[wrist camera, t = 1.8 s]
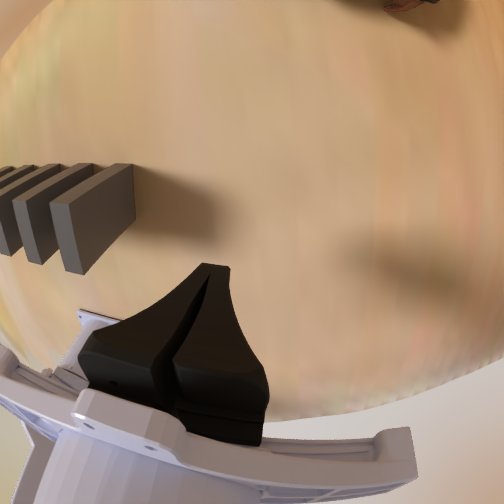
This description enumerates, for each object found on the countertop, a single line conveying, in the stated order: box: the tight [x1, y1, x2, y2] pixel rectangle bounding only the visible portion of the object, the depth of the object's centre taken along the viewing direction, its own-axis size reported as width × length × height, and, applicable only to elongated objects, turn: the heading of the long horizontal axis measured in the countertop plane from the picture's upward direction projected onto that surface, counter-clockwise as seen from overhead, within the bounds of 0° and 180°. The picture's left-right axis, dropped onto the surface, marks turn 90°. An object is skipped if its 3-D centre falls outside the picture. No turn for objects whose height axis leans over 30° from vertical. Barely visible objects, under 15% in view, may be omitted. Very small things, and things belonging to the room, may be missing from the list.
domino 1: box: [0, 165, 34, 189], centre depth 19 cm, size 5×2×8 cm, turn 174°
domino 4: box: [50, 163, 136, 275], centre depth 18 cm, size 5×2×8 cm, turn 174°
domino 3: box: [12, 163, 93, 265], centre depth 18 cm, size 5×2×8 cm, turn 174°
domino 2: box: [0, 164, 60, 256], centre depth 19 cm, size 5×2×8 cm, turn 174°
